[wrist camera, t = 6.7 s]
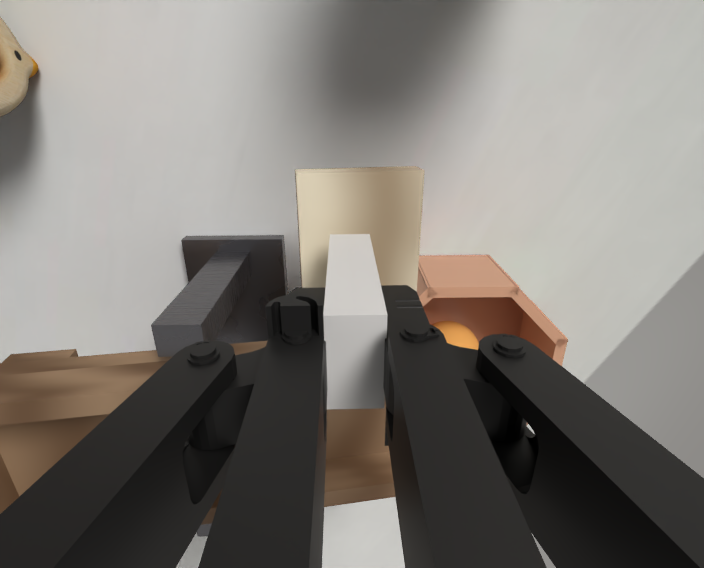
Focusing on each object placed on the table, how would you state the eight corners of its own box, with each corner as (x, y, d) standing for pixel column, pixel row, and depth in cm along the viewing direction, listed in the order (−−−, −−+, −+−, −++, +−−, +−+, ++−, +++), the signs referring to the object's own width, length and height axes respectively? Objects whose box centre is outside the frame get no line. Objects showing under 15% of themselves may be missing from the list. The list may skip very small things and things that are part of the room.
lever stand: (216, 416, 31) (161, 546, 22) (186, 236, 26) (96, 309, 16) (296, 415, 31) (275, 544, 22) (283, 235, 26) (248, 307, 16)
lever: (44, 467, 24) (-34, 588, 18) (-75, 169, 17) (-260, 202, 11) (387, 426, 27) (418, 518, 21) (397, 158, 20) (446, 180, 14)
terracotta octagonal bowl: (327, 333, 28) (323, 377, 24) (454, 218, 25) (479, 242, 21) (435, 424, 32) (450, 478, 27) (560, 331, 29) (600, 374, 24)
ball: (504, 356, 26) (461, 328, 29) (474, 326, 23) (431, 299, 27) (464, 407, 26) (425, 373, 29) (430, 382, 23) (392, 348, 27)
